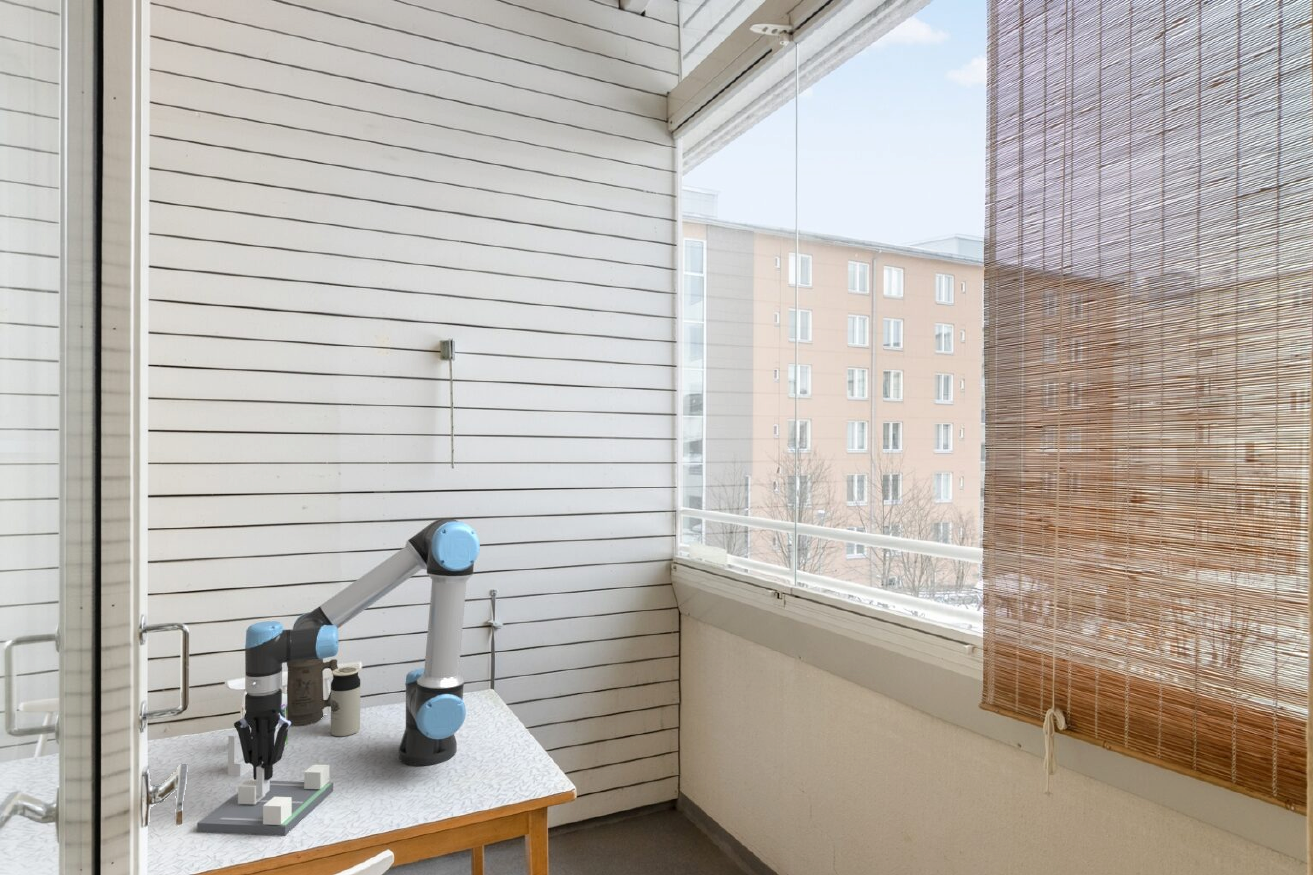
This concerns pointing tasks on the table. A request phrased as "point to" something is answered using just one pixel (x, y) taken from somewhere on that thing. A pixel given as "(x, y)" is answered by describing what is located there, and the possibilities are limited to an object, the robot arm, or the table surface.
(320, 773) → the white cubic piece
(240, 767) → the white wedge bracket
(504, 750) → the table surface
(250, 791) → the white cubic block
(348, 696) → the travel mug
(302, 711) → the beer stein
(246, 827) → the grey striped board
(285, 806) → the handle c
